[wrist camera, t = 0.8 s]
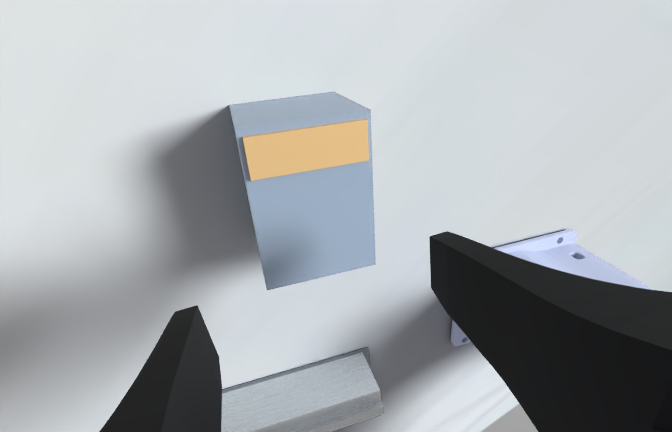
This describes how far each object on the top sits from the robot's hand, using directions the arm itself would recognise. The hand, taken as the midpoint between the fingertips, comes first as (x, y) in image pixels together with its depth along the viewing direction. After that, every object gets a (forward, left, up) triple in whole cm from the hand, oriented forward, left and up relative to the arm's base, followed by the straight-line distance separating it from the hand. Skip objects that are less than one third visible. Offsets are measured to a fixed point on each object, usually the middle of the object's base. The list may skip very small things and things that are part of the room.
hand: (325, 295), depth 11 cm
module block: (-1, -1, -10) cm, 10 cm away
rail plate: (+3, +16, -9) cm, 19 cm away
